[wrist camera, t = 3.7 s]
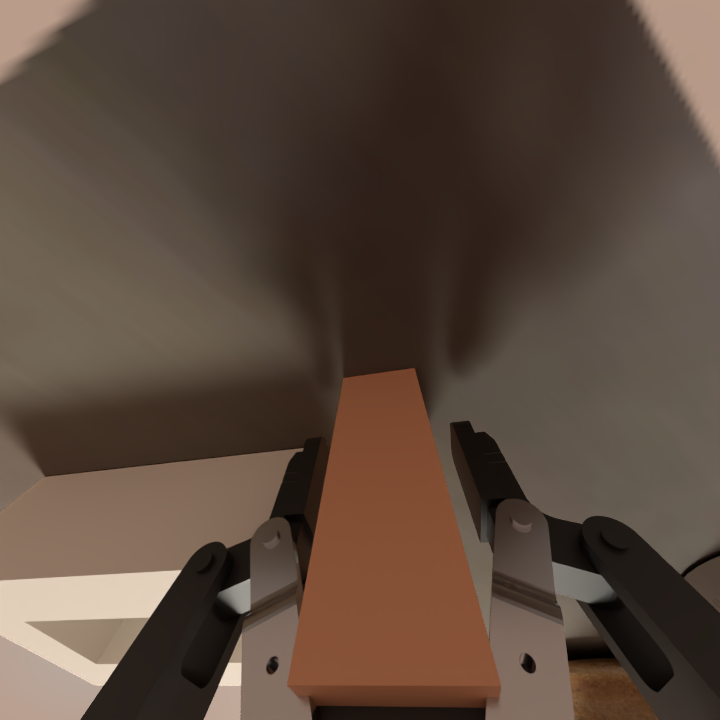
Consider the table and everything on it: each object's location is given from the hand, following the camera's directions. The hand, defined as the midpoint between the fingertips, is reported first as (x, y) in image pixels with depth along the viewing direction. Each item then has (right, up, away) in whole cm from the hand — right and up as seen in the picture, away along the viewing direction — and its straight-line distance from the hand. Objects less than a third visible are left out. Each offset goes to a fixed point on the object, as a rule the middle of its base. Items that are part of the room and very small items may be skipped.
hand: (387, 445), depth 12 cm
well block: (-12, -9, +8) cm, 16 cm away
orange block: (0, +1, +2) cm, 2 cm away
